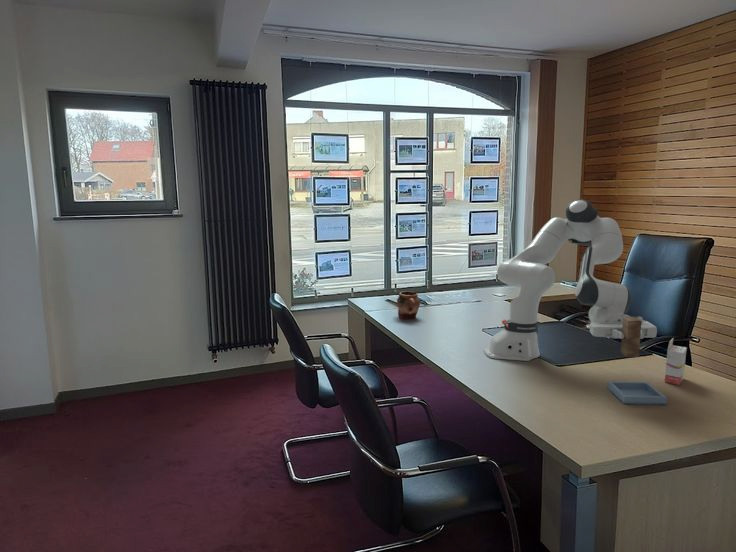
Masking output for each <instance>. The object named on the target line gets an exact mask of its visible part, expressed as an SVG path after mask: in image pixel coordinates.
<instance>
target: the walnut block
mask: <svg viewBox="0 0 736 552" xmlns="http://www.w3.org/2000/svg"><path fill="white" fill-rule="evenodd" d="M641 323H642V321H641V320H639V319H638V318H623V326H622V332H624V333H625V334H626V336H625V337H626V338H625V339H621V340H620V341H621V342H620V343H621V344H620V352H619V353H620V355H622V356H624V357H625V358H640V357H639V356H640V346H641V345H640V343H641V339H640V335H641Z"/></svg>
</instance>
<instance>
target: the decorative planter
mask: <svg viewBox="0 0 736 552" xmlns="http://www.w3.org/2000/svg"><path fill="white" fill-rule="evenodd" d="M396 305H397V308H398V310H397V311H398V312H397V313H398V314H397V316H398V317H399V319H400V320H412V319H416V317H417V314H418V312H419V308H420V306H421V301H420V299H419V294H418V293H417V292H416V291H408V290H406V291H401V292H399V294H398V297H397V299H396Z"/></svg>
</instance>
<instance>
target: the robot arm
mask: <svg viewBox="0 0 736 552" xmlns="http://www.w3.org/2000/svg"><path fill="white" fill-rule="evenodd" d="M532 239H533V240H532V241H531V242H530V243H529V244H528V245H527V247H525V248H524V249H523V250H521V251H520V252H518V253H517V254H516V255H515V256H513V257H512V258H508V259H506V260H503V261H502V262H501V263H500V264H499V265H498V267H497V271H496V272H497V278H498V280H499V281H500V282H501V283H503V284H505V285H507V286H510V287H514V288H515V287H516V288H520V291H519V294H518V296H517V297H514V298H513V299H512V300H511V301H510V303H509V319H508V320H506V319H502V320H501V323H502V325H503V327H504V328H503V329H502V330H500V331H498V332H497V333H496V334H494V335H493V336H491V338H490V342H489V345H488V346H485V347H484V350H483V352H484V355H485V356H486V357H488V358H491V359H496V360H509V361H521V362H522V361H525V362H530V361H531V360H533V359H537V358H538V357H539V358H540V356H541V354H540V349H539V343H538V341H539V340H538V334H539V321H538V315H539V314H538V313H539V304H540V301H541V299H542V297H543V295H544V294H545V293H546V292H547V291H548V290H550V289H551V288H552V287H553V286H554V284H555V280H556V273H555V270H554V269H553V267H551V266H548V265H547V264H549V263H550V262H551V263H552V261H553V260H554V258H555V256H557V254H558V252H559V251H560V249H561V248H562V247H563V246H564V243H565V242H566V241H568V242H569V243H570V244H576V245H578V246H583V247H585V246H587V247H586V248H585V250H584V252H583V253H582V257H581V261H580V267H579V268H580V269H579V272H578V273H579V274H578V279H577V282H576V283H577V284H576V287H575V291H574V297H575V298H576V299H577V301H578V302H579V303H580V305H584V306H590V309H589V311H588V319H589V321H590V323H588V324H586V325H585V328H586V329H588V330H589V333H590V335H592V336H593V337H595V338H611V339H625V338H626V337H625V336H626V334H625V333H624V332H622V326H623V318H638V319H639V320H641V321H642V323H641V335H640V340H643V339H644V338H649V339H650V338H652V339H653V338H657V333H658V328H657V326H656V325H654V324H653V323H651V322H650V321H647V320H644V319H643V317H642V316H638V315H631V314H627V312H628V311H629V309H630V306H631V304H632V294H631V292H630V290H629V287H628V286H627V285H625V284H621V283H616V282H611V281H606V280H602V279H598V278H597V277H595V276H594V271H595V265H604V264H605V265H606V264H611V263H613V262H615V261H616V260H618V259H619V258H620V257H621V256H622V253H624V252H623V251H624V241H623V235H622V231H621V229H620V226H619V224H618V222H617V221H616V220H615V219H614V218H611V217H600V216H599V210H598V209H597V208H595V207H594V205H593V204H592V203H591V202H590V201H588V200H586V199H584V198H581V199H575V200H573V201H571V202H569V203H568V205H567V206H566V209H565V218H562V217H559V216H557V217H556V216H555V217H552V218H551V219H549V220H548V221H547V222H546V223H545V224H544V225H543V226H541V228H540V229H539V231H538V232H537V234H536V235H535V237H534V238H532Z"/></svg>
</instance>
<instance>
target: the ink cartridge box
mask: <svg viewBox="0 0 736 552" xmlns="http://www.w3.org/2000/svg"><path fill="white" fill-rule="evenodd" d="M674 339H675V338H674V337H673V338H671V339H670V340H669V342H668V346H667V352H666V363H665V373H664V375H665V376H664V377H665V378H664V383H668V384H672V385H677V386H680V385H681V383H682V382H683V380H684V375H685V365H686V356H687V350H688V347H686V346H679V345H674V344H673V343H674Z"/></svg>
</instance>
